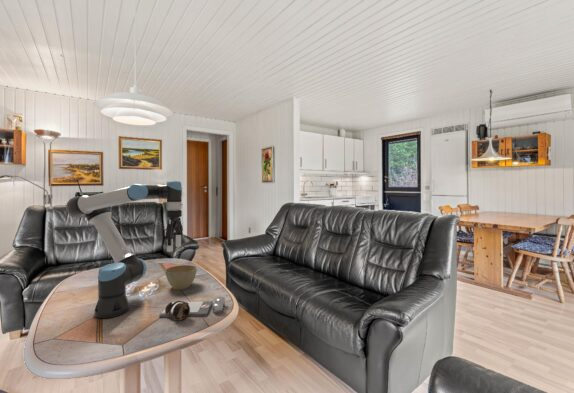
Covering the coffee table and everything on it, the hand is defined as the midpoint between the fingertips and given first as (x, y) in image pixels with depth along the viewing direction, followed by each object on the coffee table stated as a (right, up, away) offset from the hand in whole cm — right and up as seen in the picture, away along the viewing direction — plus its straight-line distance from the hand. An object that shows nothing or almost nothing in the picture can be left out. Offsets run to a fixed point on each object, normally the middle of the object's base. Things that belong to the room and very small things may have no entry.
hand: (174, 249), depth 149 cm
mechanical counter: (+9, -22, -15) cm, 28 cm away
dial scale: (+11, -29, -10) cm, 32 cm away
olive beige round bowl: (-5, -29, +22) cm, 36 cm away
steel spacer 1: (+26, -29, -5) cm, 39 cm away
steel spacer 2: (+26, -29, -12) cm, 41 cm away
